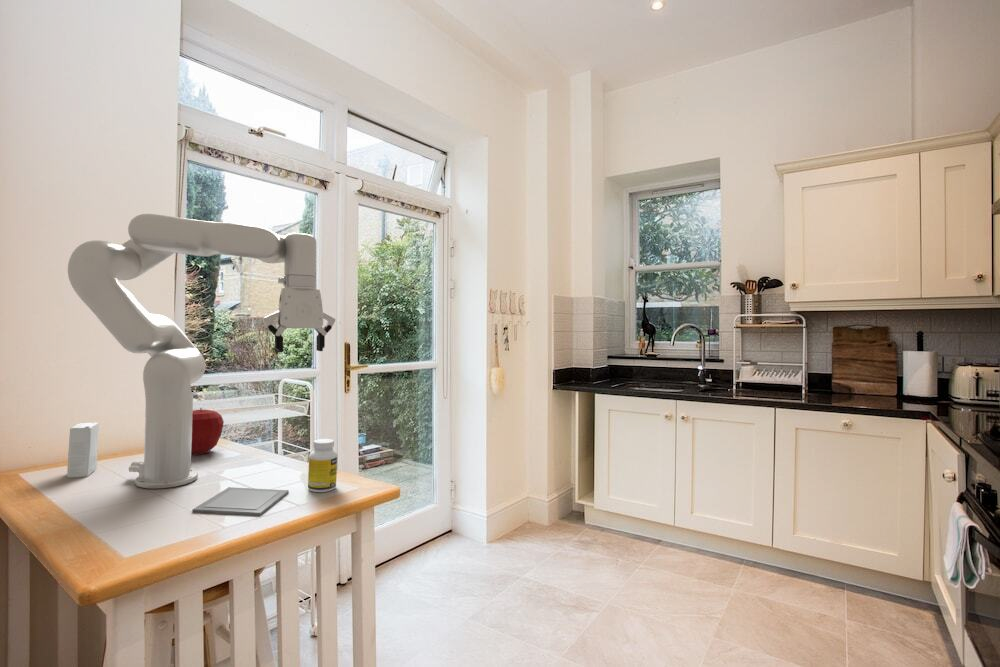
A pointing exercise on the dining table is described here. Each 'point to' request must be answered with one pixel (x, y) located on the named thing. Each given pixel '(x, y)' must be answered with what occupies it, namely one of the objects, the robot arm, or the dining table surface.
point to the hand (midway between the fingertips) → (300, 351)
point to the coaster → (241, 501)
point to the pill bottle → (322, 466)
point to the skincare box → (82, 450)
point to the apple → (205, 430)
